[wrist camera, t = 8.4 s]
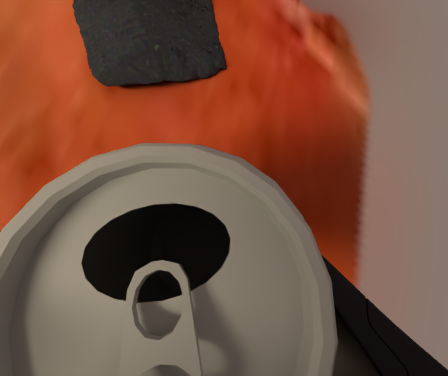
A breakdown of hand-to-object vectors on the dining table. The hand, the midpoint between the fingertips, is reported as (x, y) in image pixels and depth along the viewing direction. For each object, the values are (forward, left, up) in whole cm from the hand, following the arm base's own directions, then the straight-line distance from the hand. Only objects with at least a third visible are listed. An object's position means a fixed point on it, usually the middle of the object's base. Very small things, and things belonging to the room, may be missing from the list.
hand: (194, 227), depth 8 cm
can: (-1, 0, -7) cm, 7 cm away
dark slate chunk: (+23, +10, -9) cm, 26 cm away
